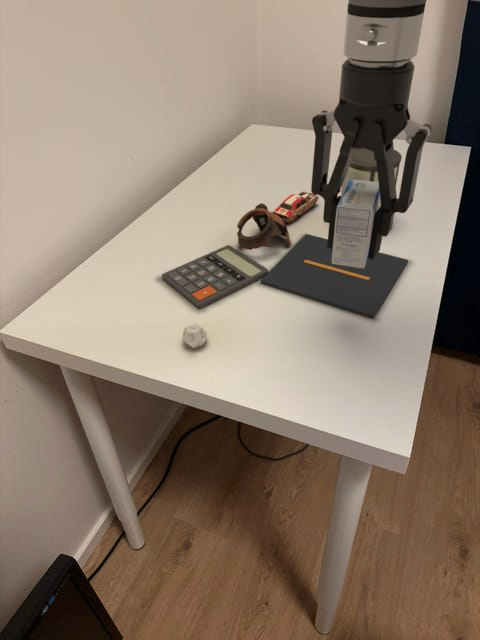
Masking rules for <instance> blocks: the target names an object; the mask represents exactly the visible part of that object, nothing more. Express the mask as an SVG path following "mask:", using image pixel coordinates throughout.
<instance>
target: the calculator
mask: <svg viewBox="0 0 480 640" xmlns="http://www.w3.org/2000/svg"><path fill="white" fill-rule="evenodd" d="M268 273H269V269H268V268H267V267H265V266H263V265H262V264H260V263H259V262H257V261H256V260H254V259H252V258H250V257H249V256H248V255H246V254H244V253H243V252H241V251H240V250H238V249H237V248H235V247H233V246H231V245H229V244H228V245H225V246H222V247H220V248H217V249H216V250H214V251H213V250H212V251H211V252H209V253H207V254H204V255H202V256H200V257H197V258H195V259H193V260H190V261H188V262H186V263H183V264H182V265H180V266H178V267H175V268H173V269H170V270H168V271H166V272H164V273H162V274H161V278H162V280H163V281H164V282H165V283H167V284H168V285H169V286H170V287H172V289H174V290H175V291H176V292H178V293H179V294H180V295H181V296H183V297H184V298H185V299H186V300H188V301H189V302H190V303H191V304H193V305H194V306H195V307H196V308H198V309H202V308H205V307H207V306H208V305H210V304H212V303H214V302H217V301H218V300H221V299H222V298H225V297H226V296H229V295H230V294H232V293H235V292H236V291H238V290H240V289H242V288H244V287H247V286H248V285H250V284H252V283H254V282H256V281H258V280H260V279H263V278H264V277H265V276H266V275H267V274H268Z"/></svg>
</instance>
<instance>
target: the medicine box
mask: <svg viewBox="0 0 480 640" xmlns="http://www.w3.org/2000/svg"><path fill="white" fill-rule="evenodd" d="M379 197H380V191H379V183H378V182H371V181H363V180H349V181H348V184H347V186H346V188H345V191H344V193H343V195H342V197H341V200H340V202H339V204H338V206H337V211H336V219H335V230H334V240H333V251H332V264H337V265H343V266H350V267H357V268H362V269H363V268H365V265H366V261H367V258H368V254H369V248H370V242H371V235H372V229H373V223H374V216H375V213H376V212H377V209H378V203H379Z"/></svg>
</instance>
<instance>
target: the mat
mask: <svg viewBox="0 0 480 640" xmlns="http://www.w3.org/2000/svg"><path fill="white" fill-rule="evenodd" d="M327 243H328V238H323V237H319V236H316V235H312V234H308V233H305V234H304V235H303V236H302V237H301V238H300V239H299V240H298V242H296V244H294V246H292V247H291V248H290V250H289V251H288V252H287V253H286V254H285V255H284V256H283V257H282V258H281V259H280V260H279V261H278V262H277V263H276V264H275V265H274V266H273V267H272V268H271V269H270V270H269V271H268V274H267V275H266V276H264V277H262V278H261V280H260V284H262V285H264V286H265V285H266V286H268V287H271V288H274V289H277V290H281V291H283V292H287V293H291V294H294V295H296V296H299V297H303V298H305V299H310V300H311V301H316V302H319V303H321V304H325V305H328V306H332V307H335V308H338V309H342V310H344V311H347V312H350V313H354V314H357V315H361V316H363V317H367V318H370V319H373V320H374V319H375V318H376V315H377V314H378V313H379V311H380V309H381V308H382V306H383V304H384V302H385V301H386V299H387V298H388V296H389V294H390V292H391V291H392V290H393V288H394V286H395V285H396V283H397V281H398V279H399V278H400V276H401V274H402V273H403V271H404V270H405V268H406V266H407V265H408V263H409V259H407V258H403V257H399V256H396V255H395V256H394V255H391V254H387V253H383V252H380V251H379V252H378V254H377V255H376V256H375V258H374V259H369V258H367V261H366V265H365V268H363V269H362V268H357V267H350V266H343V265H337V264H332V251H333V249H330V248H327Z"/></svg>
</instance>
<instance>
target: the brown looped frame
mask: <svg viewBox="0 0 480 640" xmlns="http://www.w3.org/2000/svg"><path fill="white" fill-rule="evenodd" d="M251 219H252V220H253V221H254V223H256V225H257V228H258V229H259V233H257V234H255V235H251V236H247V235H244V234H243V233H242V231H243V228H244V227H245V225H246V223H247V222H248V221H250V220H251ZM236 228H237V229H238V231H237V233H236V235H237V243H238V246H239V247H240V248H242V249H246V250H249V251H252V250H257V249H259V248H262V247H266V248H270V247H271V245H270V240H269V237H272V238H273V237H280V236H282V237H284V238H285V241H286V242H287V247H288V248H290V247H291V244H292V243H291V238H290V233H289V230H288V227H287V225H286V222H284V221H283V220H282V219H281V218H280V217H279V216H278V215H276V214H274V213H273V211H269V208H268V206H267V205H266V204H265V203H259V204H257V205H256V206H255V208H253V209H251V210H249V211H247V212H246V213H244V214H243V216H242V217H241V218H240V219H239V220H238V222H237V225H236Z"/></svg>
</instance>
